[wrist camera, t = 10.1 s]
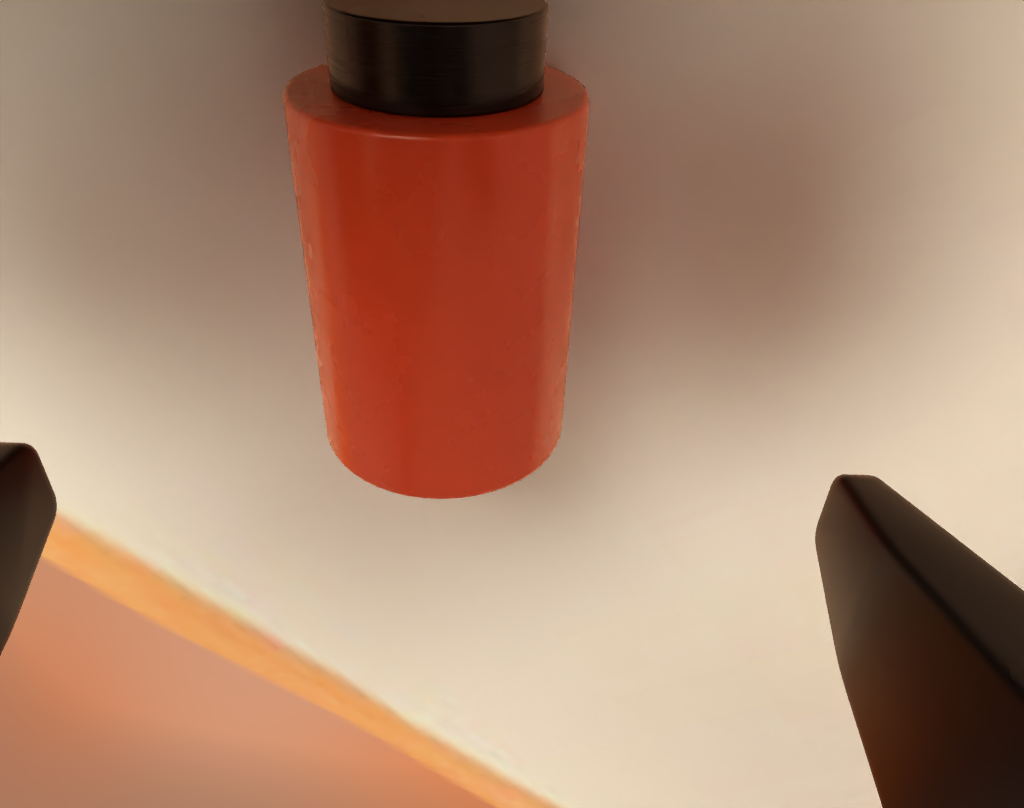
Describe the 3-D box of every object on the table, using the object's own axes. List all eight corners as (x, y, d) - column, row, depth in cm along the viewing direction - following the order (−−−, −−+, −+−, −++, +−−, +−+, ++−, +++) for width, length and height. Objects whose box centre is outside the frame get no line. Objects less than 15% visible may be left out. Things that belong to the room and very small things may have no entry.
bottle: (579, 375, 17) (535, 522, 14) (377, 344, 18) (286, 474, 15) (616, -16, 13) (567, 48, 9) (347, -35, 14) (204, 17, 10)
